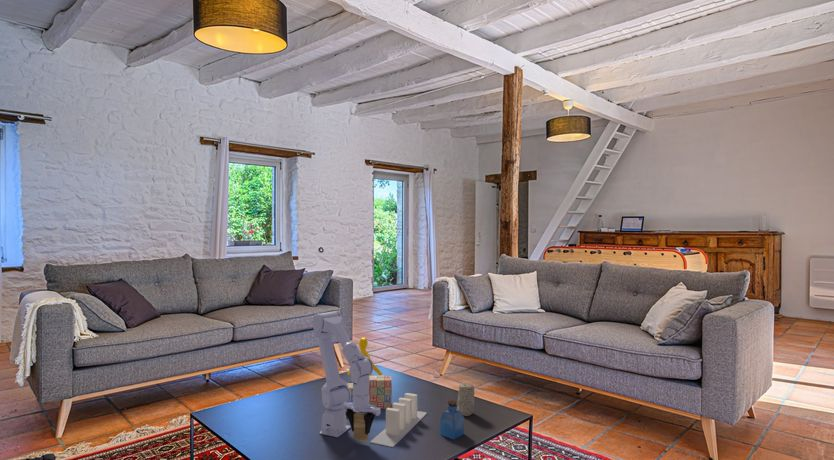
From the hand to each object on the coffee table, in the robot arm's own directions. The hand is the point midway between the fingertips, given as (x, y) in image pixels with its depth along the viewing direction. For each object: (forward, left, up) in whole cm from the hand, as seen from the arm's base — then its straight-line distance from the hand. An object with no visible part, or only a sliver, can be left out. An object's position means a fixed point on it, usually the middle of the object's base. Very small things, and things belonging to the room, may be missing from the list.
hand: (360, 431), depth 169 cm
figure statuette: (+57, +31, -4) cm, 65 cm away
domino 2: (+16, -7, -4) cm, 18 cm away
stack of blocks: (+30, +15, -5) cm, 34 cm away
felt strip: (+18, -7, -4) cm, 20 cm away
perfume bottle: (+20, -27, -5) cm, 34 cm away
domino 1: (+11, -7, -4) cm, 14 cm away
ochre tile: (0, 0, -3) cm, 3 cm away
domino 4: (+27, -7, -4) cm, 29 cm away
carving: (+40, -26, -4) cm, 48 cm away
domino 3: (+22, -7, -4) cm, 23 cm away
